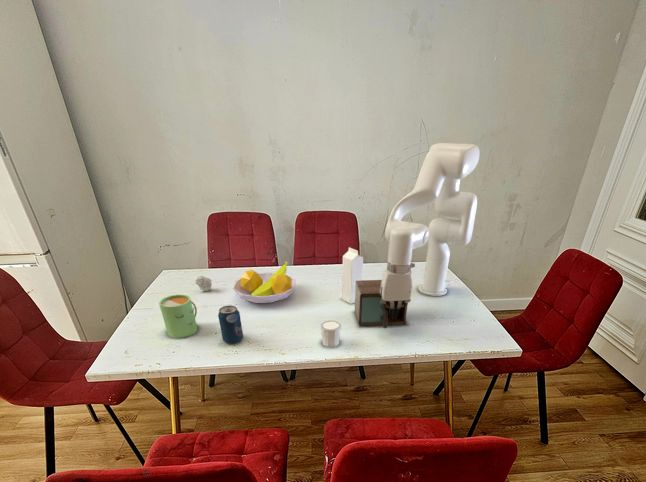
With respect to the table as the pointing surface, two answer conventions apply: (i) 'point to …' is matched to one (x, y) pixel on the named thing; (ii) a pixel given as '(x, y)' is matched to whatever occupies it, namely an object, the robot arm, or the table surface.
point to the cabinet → (373, 290)
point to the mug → (178, 315)
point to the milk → (351, 274)
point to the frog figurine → (203, 283)
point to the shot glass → (330, 333)
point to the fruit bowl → (265, 286)
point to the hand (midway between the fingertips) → (393, 317)
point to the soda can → (230, 324)
